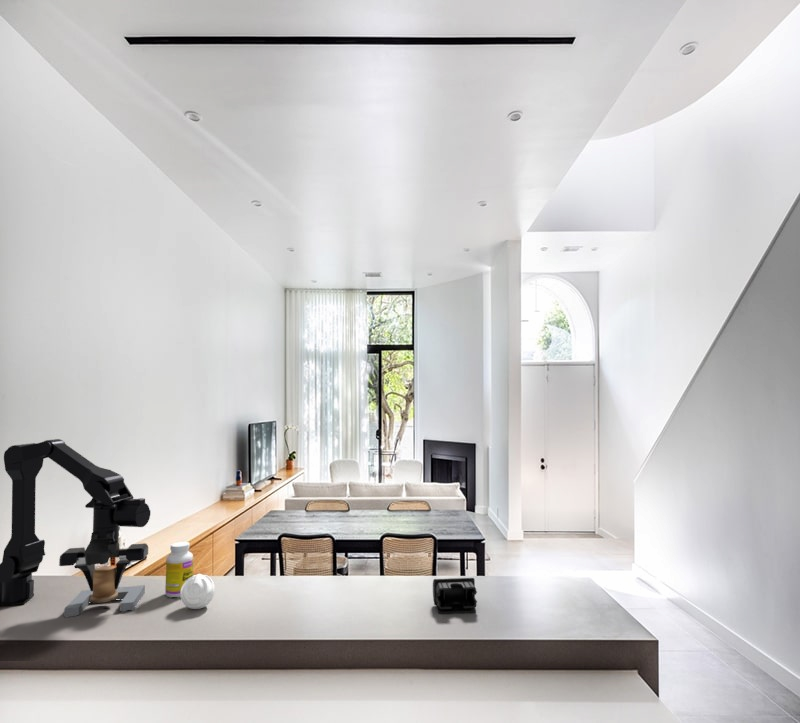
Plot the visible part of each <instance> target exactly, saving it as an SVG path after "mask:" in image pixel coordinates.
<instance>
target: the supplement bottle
mask: <svg viewBox="0 0 800 723" xmlns="http://www.w3.org/2000/svg"><path fill="white" fill-rule="evenodd" d="M190 545H191V544H190V542H188V541H177V542H173V543H171V544H170V553H169V554H168V555H167V556H166V560H165V589H164V590H165V592H164V593H165V595H166V597H167V598H172V597H178V598H181V597H180V591H181V587H182V585H183V584H184V583H185V581H186V580H187V579H189V578H190V577H192V576H194V555H193V553H192V552H191V551H189V550H190Z"/></svg>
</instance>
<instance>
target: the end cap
mask: <svg viewBox="0 0 800 723" xmlns="http://www.w3.org/2000/svg"><path fill="white" fill-rule="evenodd" d="M475 582H476V581H475V578H474V577H460V578H459V577H457V578H456V577H453V578H451V577H450V578H434V579H433V580H432V597H433V598H432V599H433V605H434V606H435V608H436V610H437V613H438V615H456V614H458V615H460V614H464V615H465V614H475V613H477V609H476V607H477V603H478V600H477V599H476V595H477V593H478V592H477V588H476V586H475V584H476V583H475Z"/></svg>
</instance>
